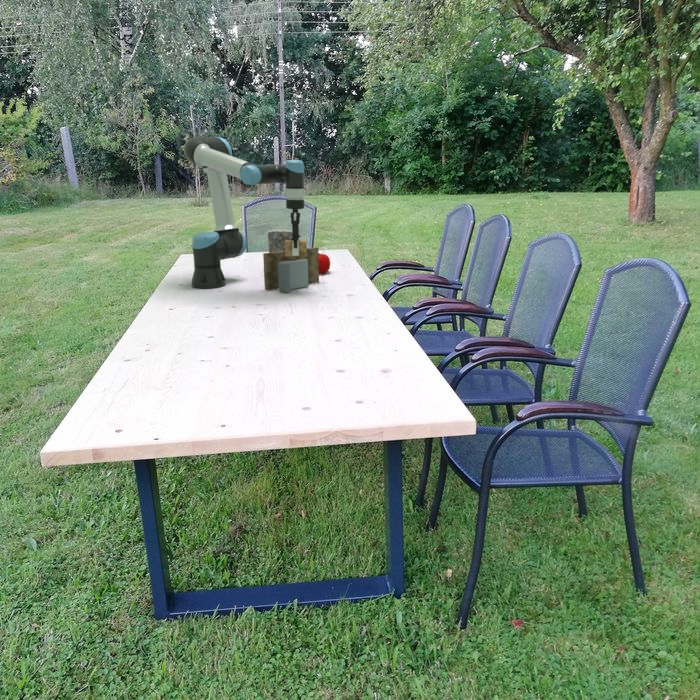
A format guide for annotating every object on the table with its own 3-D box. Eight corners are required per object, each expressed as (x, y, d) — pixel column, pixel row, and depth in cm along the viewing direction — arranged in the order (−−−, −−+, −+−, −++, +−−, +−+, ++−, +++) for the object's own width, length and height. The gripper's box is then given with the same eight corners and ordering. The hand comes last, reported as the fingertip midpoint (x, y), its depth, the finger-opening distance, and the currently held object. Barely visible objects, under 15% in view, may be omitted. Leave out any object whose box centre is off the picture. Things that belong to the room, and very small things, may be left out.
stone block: (269, 270, 321) (267, 231, 315) (269, 268, 328) (268, 229, 322) (295, 270, 322) (294, 230, 316) (295, 267, 329) (294, 228, 323)
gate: (286, 292, 270) (285, 264, 267) (278, 290, 275) (277, 262, 271) (314, 288, 279) (314, 261, 275) (306, 285, 284) (305, 259, 280)
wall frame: (267, 290, 277) (265, 253, 272) (264, 289, 278) (263, 253, 273) (319, 282, 293) (318, 247, 288) (316, 281, 295) (315, 247, 290)
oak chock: (306, 253, 273) (306, 240, 271) (306, 256, 267) (306, 242, 265) (285, 253, 273) (285, 239, 271) (285, 256, 267) (284, 242, 265)
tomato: (336, 273, 315) (335, 252, 312) (317, 276, 306) (316, 255, 303) (320, 270, 322) (320, 250, 319) (301, 273, 314) (301, 252, 311)
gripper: (303, 201, 254) (304, 258, 261) (304, 197, 272) (304, 250, 279) (285, 200, 253) (286, 258, 261) (286, 196, 271) (287, 250, 279)
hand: (295, 254), depth 270 cm, fingers closed on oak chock, 6 cm apart
